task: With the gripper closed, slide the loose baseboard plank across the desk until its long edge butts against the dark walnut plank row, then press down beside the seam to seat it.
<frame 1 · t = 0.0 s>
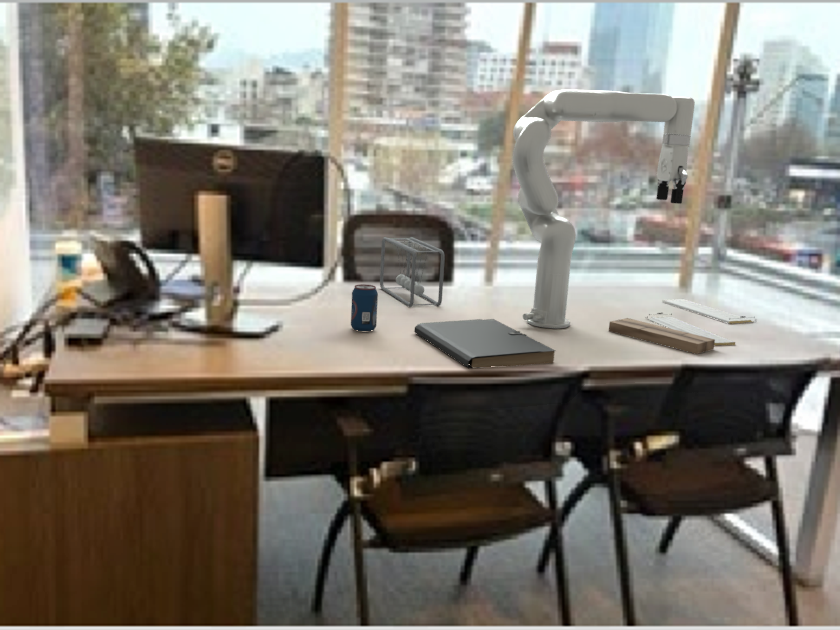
hand: (668, 201, 247), 37 cm above the table, tool pointing down, fingers open, 9 cm apart
plank row: (659, 339, 239), on the table
soda can: (363, 330, 231), on the table
dark grey book: (481, 350, 220), on the table
baseboard: (686, 334, 251), on the table
newton's cradle: (409, 298, 276), on the table
baseboard molding: (707, 314, 280), on the table
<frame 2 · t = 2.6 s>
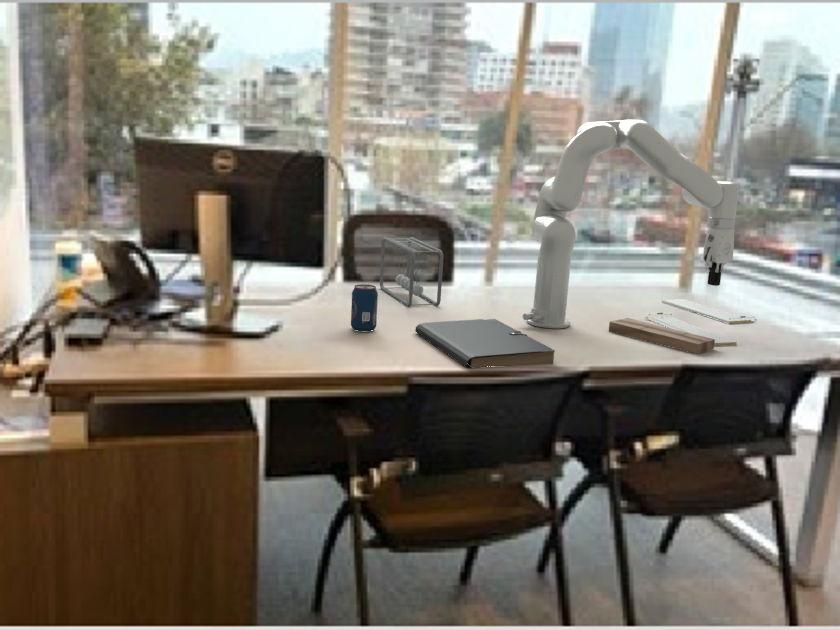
hand: (713, 284, 255), 13 cm above the table, tool pointing down, fingers closed
nothing on the table moved.
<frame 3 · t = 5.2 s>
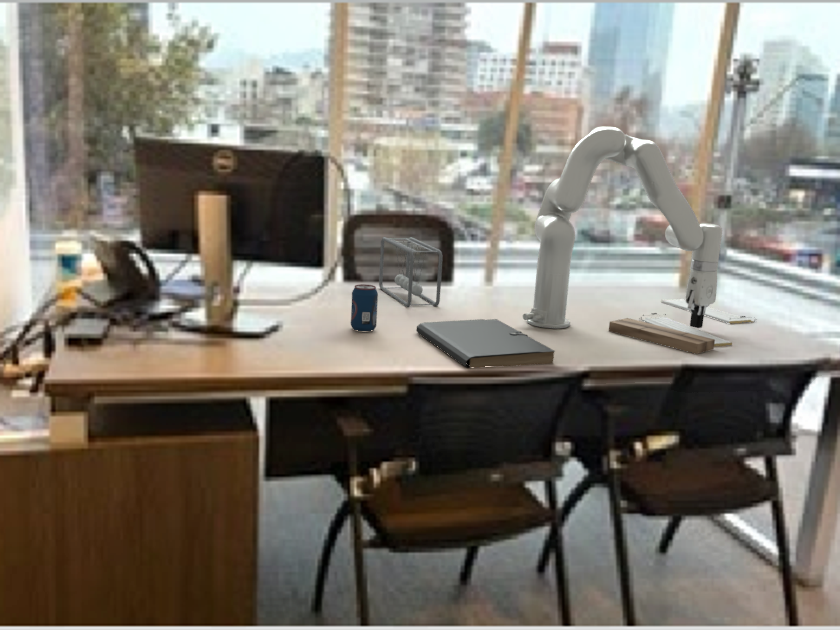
hand: (695, 326, 254), 1 cm above the table, tool pointing down, fingers closed
baseboard: (682, 335, 250), on the table
everything else where it was.
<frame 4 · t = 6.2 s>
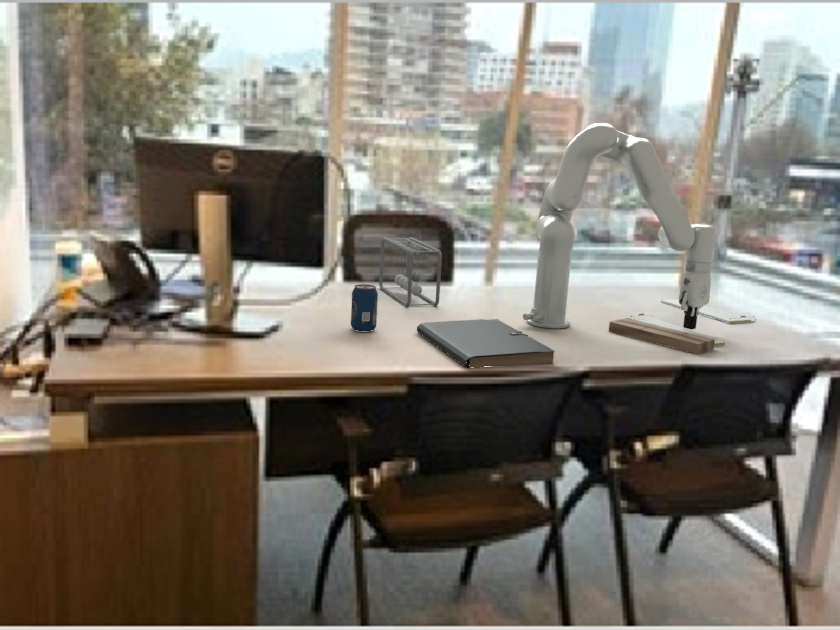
hand: (689, 328, 251), 1 cm above the table, tool pointing down, fingers closed
baseboard: (672, 335, 248), on the table, touching gripper
everything else where it was.
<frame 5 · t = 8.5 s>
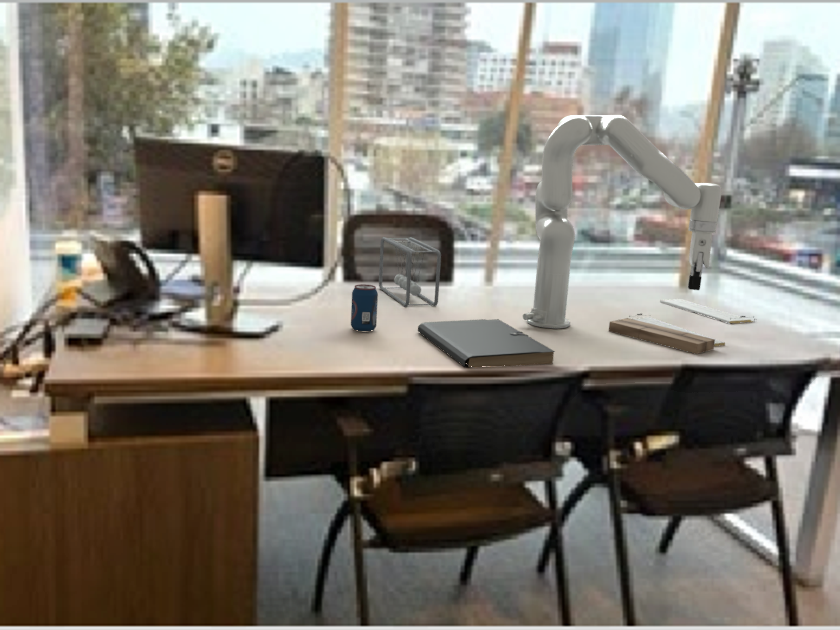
hand: (693, 289, 248), 13 cm above the table, tool pointing down, fingers closed
baseboard: (672, 335, 248), on the table
everything else where it was.
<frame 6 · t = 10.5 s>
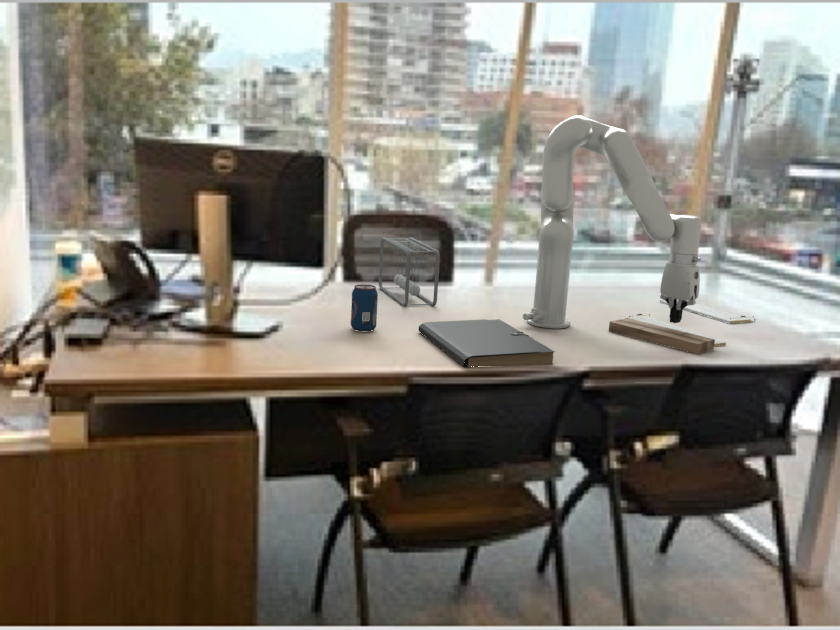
hand: (675, 322, 244), 4 cm above the table, tool pointing down, fingers closed
nothing on the table moved.
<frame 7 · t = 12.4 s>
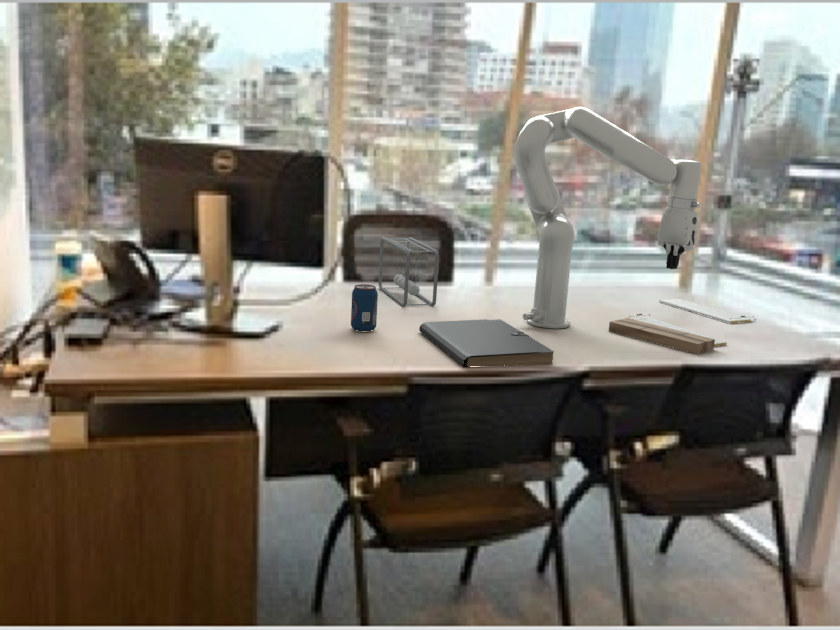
hand: (671, 268, 244), 19 cm above the table, tool pointing down, fingers closed
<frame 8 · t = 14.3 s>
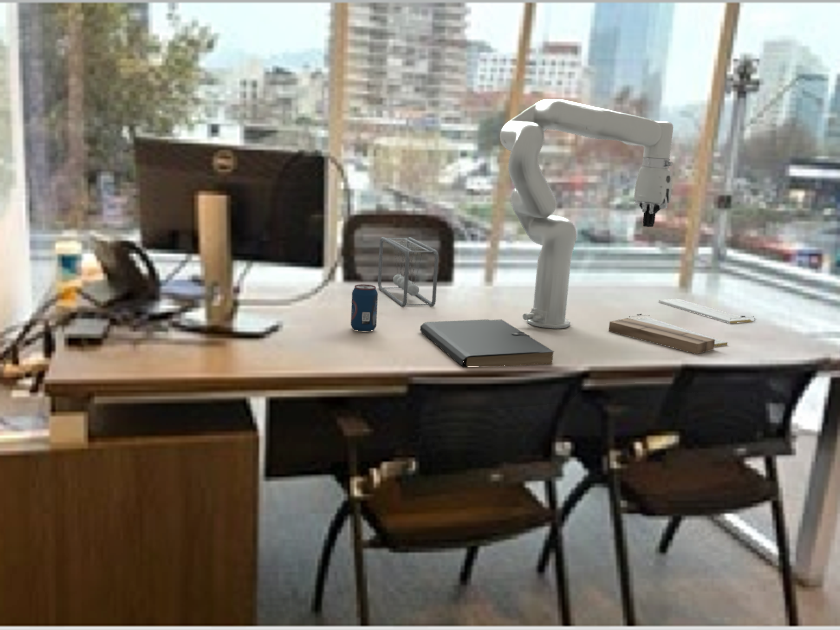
hand: (648, 226, 254), 29 cm above the table, tool pointing down, fingers closed
at the end: baseboard inside the target area (1.1 cm from its centre), on the table; baseboard moved 5.6 cm from its start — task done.
